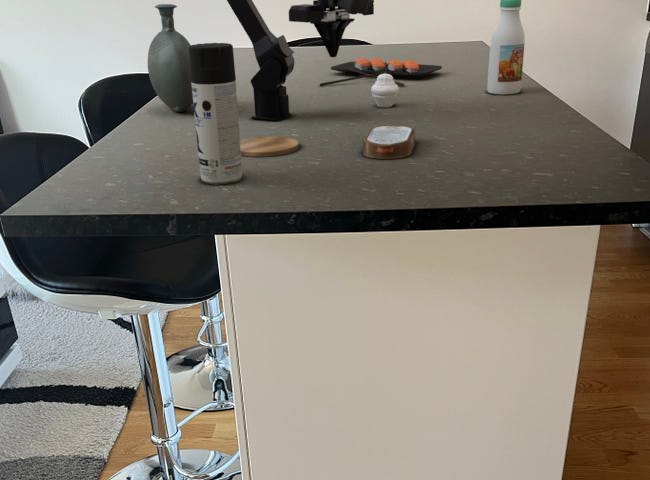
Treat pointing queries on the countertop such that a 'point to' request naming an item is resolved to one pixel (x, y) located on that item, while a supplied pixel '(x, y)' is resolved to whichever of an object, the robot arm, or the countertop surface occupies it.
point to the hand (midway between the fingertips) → (333, 57)
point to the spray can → (216, 112)
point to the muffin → (384, 90)
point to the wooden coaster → (267, 146)
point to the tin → (389, 142)
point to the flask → (170, 63)
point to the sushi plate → (383, 69)
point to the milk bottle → (506, 51)
